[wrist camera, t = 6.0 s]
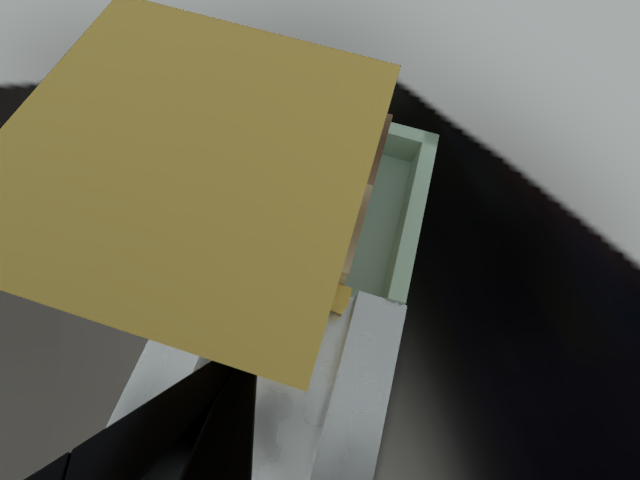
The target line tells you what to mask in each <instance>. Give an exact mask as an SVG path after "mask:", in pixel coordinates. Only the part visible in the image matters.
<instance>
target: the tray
mask: <svg viewBox="0 0 640 480" xmlns="http://www.w3.org/2000/svg"><path fill="white" fill-rule="evenodd" d="M438 140H439V135H438V134H434V133H431V132H427V131H423V130H419V129H416V128H412V127H408V126H404V125H401V124H397V123H393V122H391V124H390V128H389V131H388V135H387V138H386V142H385V146H384V149H383V153H382V156H381V160H380V163H379V167H378V171H377V174H376V178H375V181H374V185H373V189H372V192H371V196H370V199H369V203H368V207H367V210H366V214H365V217H364V221H363V225H362V228H361V232H360V235H359V239H358V243H357V246H356V250H355V253H354V257H353V261H352V264H351V268H350V271H349V275H348V277H347V279H346V281H345V283H344V286H347V287H350V288H353V289H352V292H351V296H350V297H353V298H354V297H355V296H356V294H357V293H358V291H362V292H365V293H369V294H372V295H375V296H378V297H382V298H385V299H388V300H392V301H395V302H398V303H401V304H405V303H406V301H407V296H408V291H409V286H410V281H411V276H412V270H413V265H414V260H415V255H416V250H417V245H418V240H419V235H420V230H421V225H422V220H423V215H424V210H425V205H426V200H427V195H428V190H429V185H430V180H431V175H432V170H433V165H434V160H435V155H436V150H437V145H438Z"/></svg>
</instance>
